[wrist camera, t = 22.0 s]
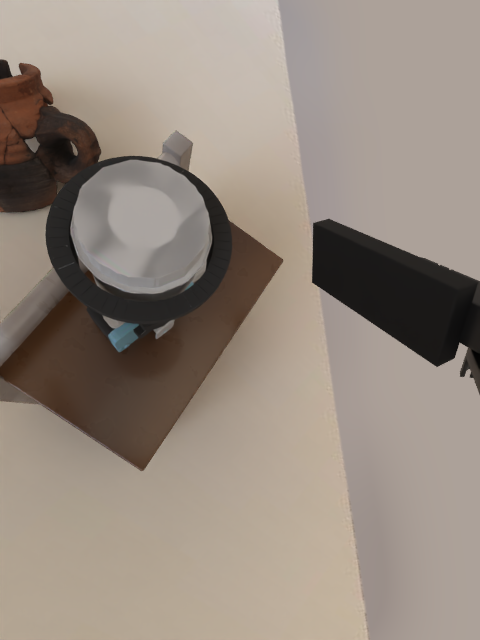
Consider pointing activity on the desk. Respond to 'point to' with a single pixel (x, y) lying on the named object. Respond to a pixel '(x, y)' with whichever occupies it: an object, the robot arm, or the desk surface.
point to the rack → (125, 350)
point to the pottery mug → (50, 131)
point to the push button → (138, 244)
